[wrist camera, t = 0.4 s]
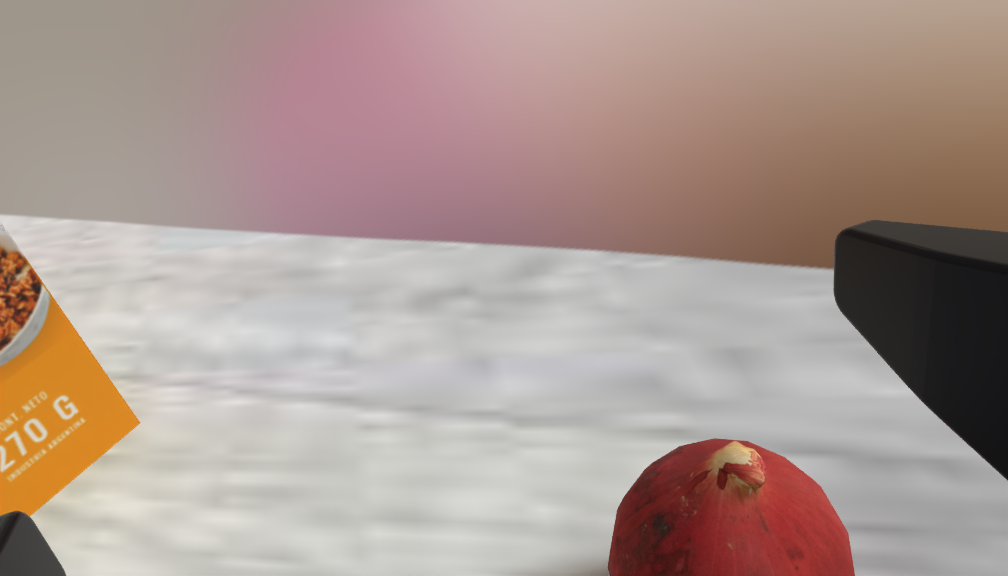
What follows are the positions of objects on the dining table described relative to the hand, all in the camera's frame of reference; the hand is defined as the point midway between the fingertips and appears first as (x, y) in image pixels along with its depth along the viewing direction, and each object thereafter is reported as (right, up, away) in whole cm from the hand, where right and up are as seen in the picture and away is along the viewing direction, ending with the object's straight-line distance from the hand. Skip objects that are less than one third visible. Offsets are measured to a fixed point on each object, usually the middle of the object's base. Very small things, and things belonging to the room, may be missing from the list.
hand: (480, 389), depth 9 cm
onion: (+6, -9, +14) cm, 18 cm away
